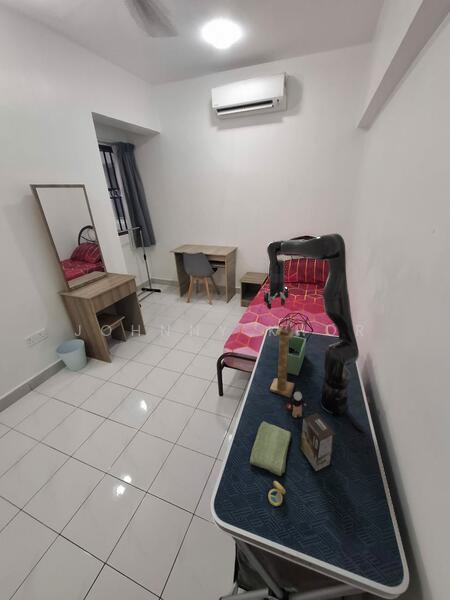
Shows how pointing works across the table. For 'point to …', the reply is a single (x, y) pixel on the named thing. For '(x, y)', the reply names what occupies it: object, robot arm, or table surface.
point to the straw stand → (283, 363)
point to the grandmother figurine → (297, 404)
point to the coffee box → (317, 441)
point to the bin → (296, 355)
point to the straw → (288, 324)
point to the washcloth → (270, 448)
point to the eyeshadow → (276, 494)
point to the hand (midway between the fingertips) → (275, 307)
